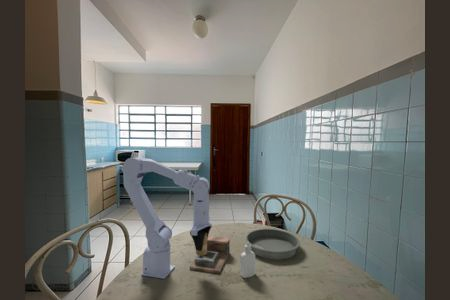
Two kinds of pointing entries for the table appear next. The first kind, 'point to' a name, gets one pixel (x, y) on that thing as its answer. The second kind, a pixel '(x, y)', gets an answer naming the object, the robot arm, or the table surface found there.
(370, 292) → the table surface
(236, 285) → the table surface
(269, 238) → the cake pan
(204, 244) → the peg
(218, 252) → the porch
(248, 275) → the eye dropper bottle
